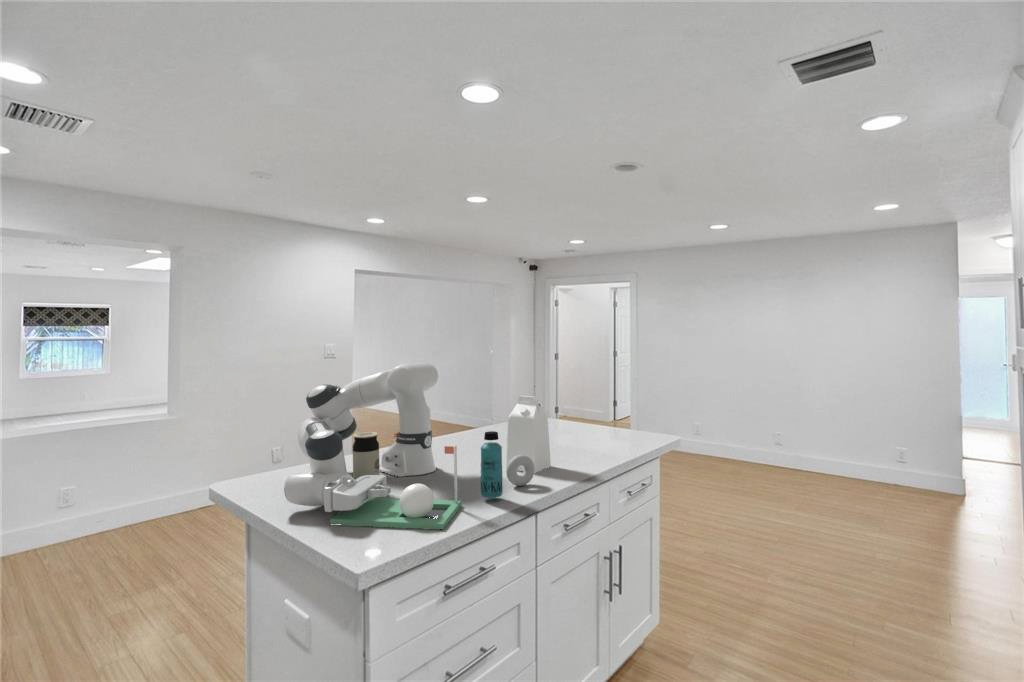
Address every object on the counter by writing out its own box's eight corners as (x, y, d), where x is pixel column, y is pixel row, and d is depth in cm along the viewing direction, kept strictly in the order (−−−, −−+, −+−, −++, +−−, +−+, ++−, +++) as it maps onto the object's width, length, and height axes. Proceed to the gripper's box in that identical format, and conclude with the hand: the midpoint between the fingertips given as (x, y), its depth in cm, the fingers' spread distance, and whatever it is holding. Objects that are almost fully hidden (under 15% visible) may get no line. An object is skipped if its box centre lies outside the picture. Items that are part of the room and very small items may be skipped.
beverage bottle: (480, 497, 151) (479, 430, 151) (502, 495, 152) (501, 429, 152) (481, 504, 145) (479, 434, 145) (504, 503, 145) (502, 433, 145)
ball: (424, 485, 129) (411, 521, 126) (445, 492, 136) (433, 526, 133) (400, 476, 134) (387, 510, 131) (421, 482, 141) (409, 515, 138)
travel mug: (348, 493, 157) (346, 435, 157) (364, 486, 164) (362, 431, 164) (369, 496, 154) (368, 437, 154) (384, 488, 161) (383, 432, 161)
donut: (509, 489, 158) (509, 457, 158) (504, 487, 161) (503, 455, 161) (537, 484, 163) (536, 453, 163) (531, 482, 166) (531, 451, 166)
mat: (330, 525, 130) (329, 457, 130) (362, 502, 148) (360, 442, 148) (442, 530, 126) (441, 459, 125) (461, 506, 143) (460, 444, 143)
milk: (550, 466, 186) (549, 395, 185) (535, 473, 176) (533, 398, 176) (522, 462, 192) (521, 393, 192) (506, 469, 182) (505, 397, 182)
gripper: (358, 490, 149) (403, 491, 147) (321, 514, 129) (372, 516, 127) (358, 468, 149) (402, 470, 147) (321, 489, 129) (372, 491, 127)
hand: (388, 491), depth 137 cm, fingers closed
